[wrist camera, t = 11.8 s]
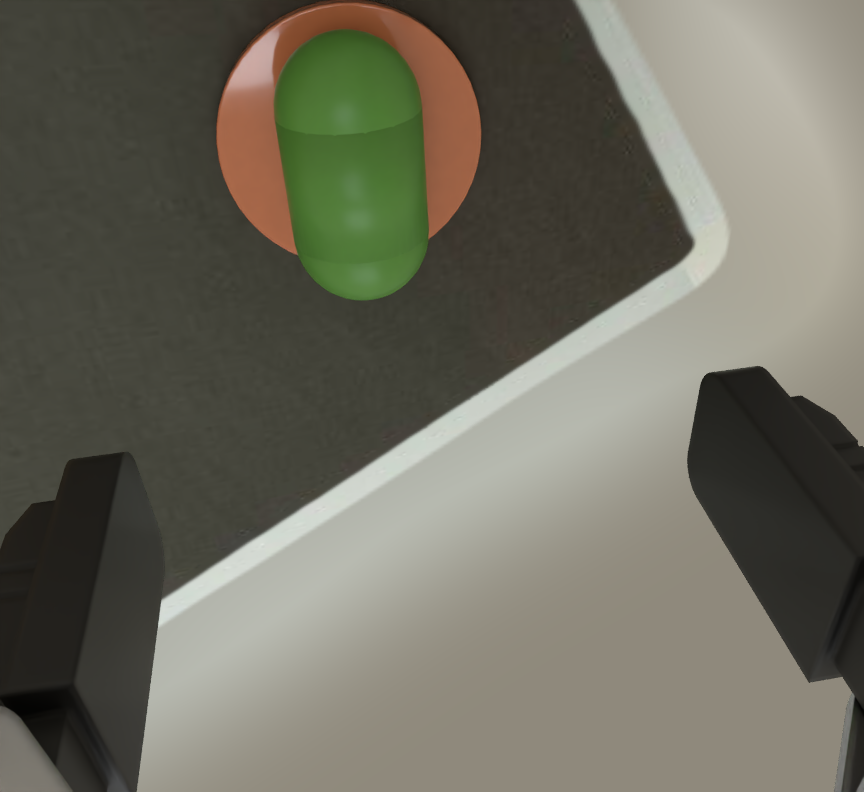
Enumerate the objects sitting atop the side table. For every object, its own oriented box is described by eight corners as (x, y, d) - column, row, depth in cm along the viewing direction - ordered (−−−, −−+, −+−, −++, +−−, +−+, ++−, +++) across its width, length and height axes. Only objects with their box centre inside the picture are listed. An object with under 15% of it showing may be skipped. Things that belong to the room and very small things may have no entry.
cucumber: (266, 19, 23) (256, 56, 19) (411, 9, 23) (424, 43, 20) (305, 268, 27) (301, 331, 24) (425, 257, 27) (438, 318, 24)
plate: (190, 11, 23) (188, 16, 22) (475, -13, 23) (480, -10, 23) (243, 271, 27) (243, 280, 27) (479, 243, 28) (483, 251, 28)
